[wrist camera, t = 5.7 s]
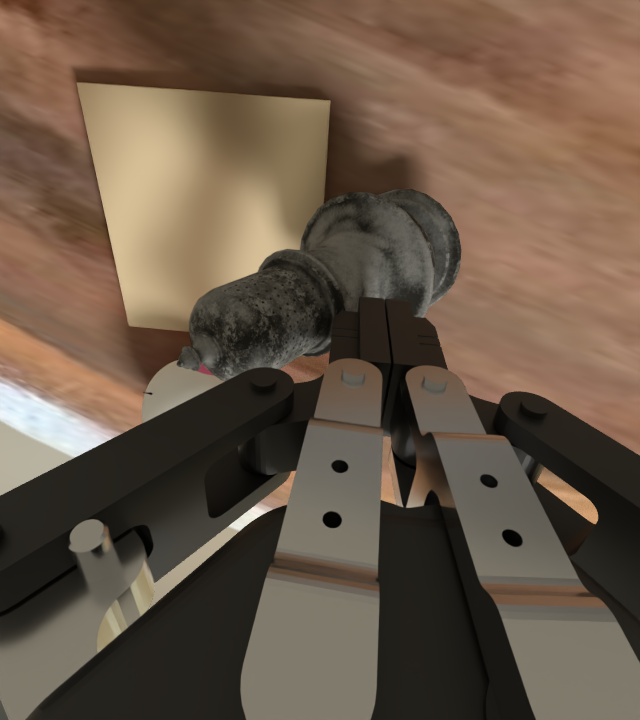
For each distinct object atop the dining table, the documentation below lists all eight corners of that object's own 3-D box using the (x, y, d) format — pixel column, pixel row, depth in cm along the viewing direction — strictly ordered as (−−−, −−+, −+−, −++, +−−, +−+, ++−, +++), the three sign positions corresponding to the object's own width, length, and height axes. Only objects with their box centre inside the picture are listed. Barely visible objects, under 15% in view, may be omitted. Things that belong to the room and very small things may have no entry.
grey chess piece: (336, 190, 20) (76, 248, 11) (466, 170, 16) (228, 232, 8) (354, 313, 22) (148, 440, 13) (470, 320, 18) (291, 497, 10)
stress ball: (185, 316, 27) (83, 368, 23) (274, 342, 22) (164, 413, 18) (218, 411, 31) (134, 470, 27) (299, 451, 26) (213, 530, 22)
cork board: (330, 100, 17) (329, 101, 17) (315, 337, 23) (314, 343, 23) (84, 82, 17) (76, 82, 17) (133, 320, 24) (128, 326, 23)
